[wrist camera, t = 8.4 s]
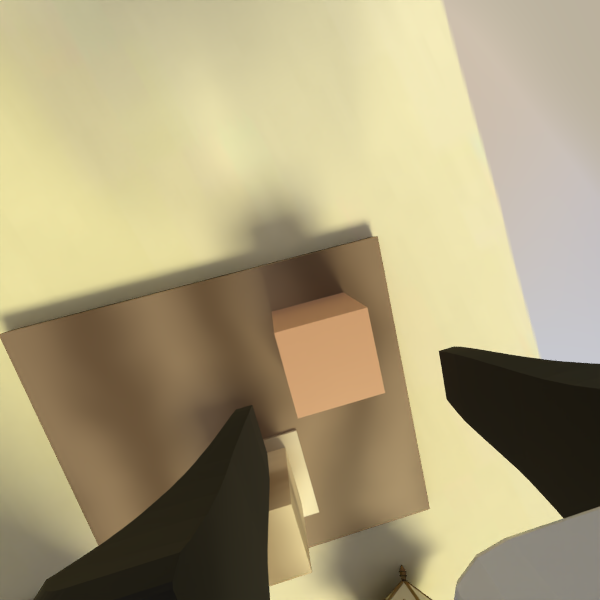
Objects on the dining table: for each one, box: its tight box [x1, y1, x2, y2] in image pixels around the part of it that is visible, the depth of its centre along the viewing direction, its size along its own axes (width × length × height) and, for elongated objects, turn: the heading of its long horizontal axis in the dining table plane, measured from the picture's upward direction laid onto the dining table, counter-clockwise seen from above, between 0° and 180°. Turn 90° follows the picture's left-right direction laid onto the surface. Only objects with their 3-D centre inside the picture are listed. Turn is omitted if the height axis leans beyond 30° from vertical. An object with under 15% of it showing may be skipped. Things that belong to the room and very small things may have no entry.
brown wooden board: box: [0, 236, 430, 548], centre depth 20 cm, size 22×20×1 cm
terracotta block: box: [272, 292, 385, 418], centre depth 17 cm, size 4×4×4 cm
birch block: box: [267, 448, 312, 586], centre depth 18 cm, size 4×4×4 cm
